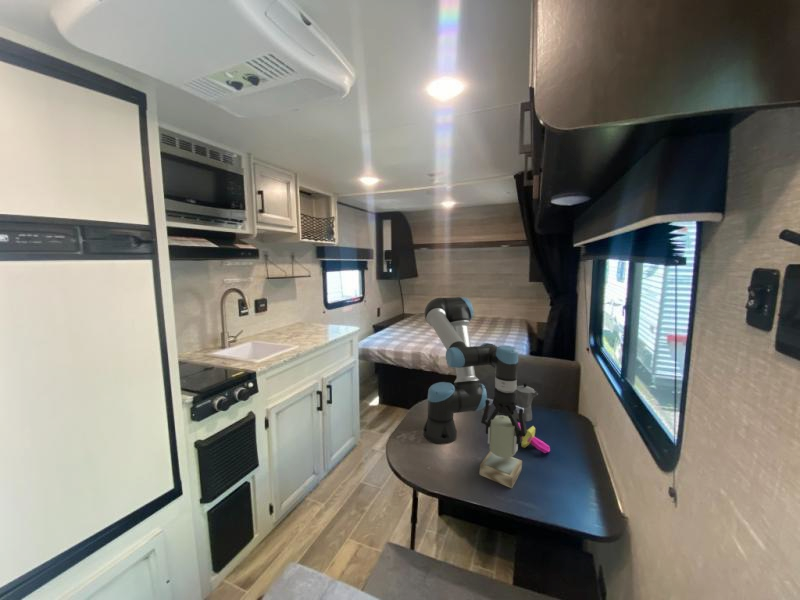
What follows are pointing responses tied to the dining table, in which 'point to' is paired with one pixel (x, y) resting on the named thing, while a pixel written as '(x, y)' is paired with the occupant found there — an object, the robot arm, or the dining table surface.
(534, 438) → the toy
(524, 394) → the coffeepot
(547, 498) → the dining table surface
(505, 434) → the can
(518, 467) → the pedestal
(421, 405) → the dining table surface
